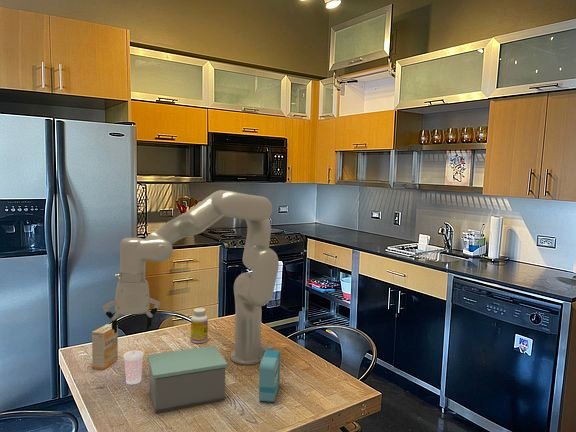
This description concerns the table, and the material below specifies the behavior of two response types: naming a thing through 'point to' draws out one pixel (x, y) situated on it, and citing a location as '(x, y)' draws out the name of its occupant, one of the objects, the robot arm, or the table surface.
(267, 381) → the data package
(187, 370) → the lid
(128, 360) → the beverage cup
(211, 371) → the storage box
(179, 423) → the table surface
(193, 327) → the supplement bottle
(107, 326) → the supplement box
